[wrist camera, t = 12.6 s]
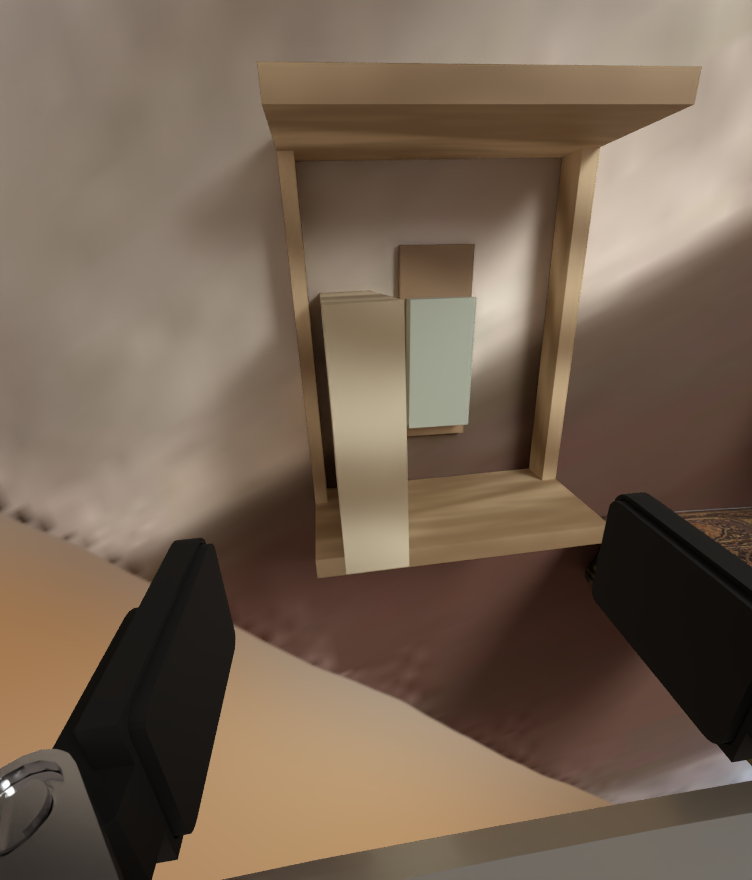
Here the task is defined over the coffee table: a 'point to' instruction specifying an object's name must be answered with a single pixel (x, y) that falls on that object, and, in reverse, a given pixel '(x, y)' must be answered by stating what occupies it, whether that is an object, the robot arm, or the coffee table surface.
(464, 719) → the coffee table surface
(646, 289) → the coffee table surface
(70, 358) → the coffee table surface
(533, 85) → the pine rack
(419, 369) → the offcut slab top
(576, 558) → the coffee table surface
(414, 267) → the offcut slab bottom
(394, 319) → the birch sheet
